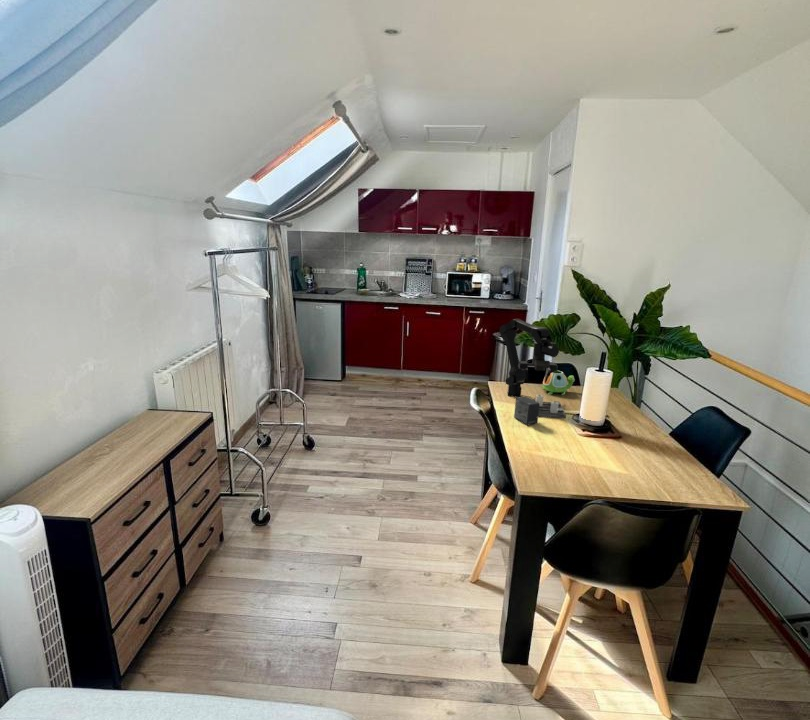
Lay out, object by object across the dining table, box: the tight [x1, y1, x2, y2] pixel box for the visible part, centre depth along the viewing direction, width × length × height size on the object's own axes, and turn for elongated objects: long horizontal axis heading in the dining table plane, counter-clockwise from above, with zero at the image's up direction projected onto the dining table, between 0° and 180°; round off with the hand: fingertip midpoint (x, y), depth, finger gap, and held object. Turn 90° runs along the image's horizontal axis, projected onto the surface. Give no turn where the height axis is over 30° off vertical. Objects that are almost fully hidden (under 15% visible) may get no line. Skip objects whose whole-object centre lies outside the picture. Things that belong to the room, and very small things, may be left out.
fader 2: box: [550, 400, 559, 414], centre depth 223 cm, size 3×3×5 cm
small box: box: [513, 396, 540, 426], centre depth 215 cm, size 11×6×10 cm, turn 22°
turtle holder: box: [542, 370, 576, 396], centre depth 258 cm, size 12×18×12 cm
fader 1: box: [535, 394, 544, 406], centre depth 232 cm, size 3×3×5 cm
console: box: [538, 400, 567, 419], centre depth 230 cm, size 15×18×2 cm
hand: (536, 382), depth 236 cm, fingers open, 9 cm apart
